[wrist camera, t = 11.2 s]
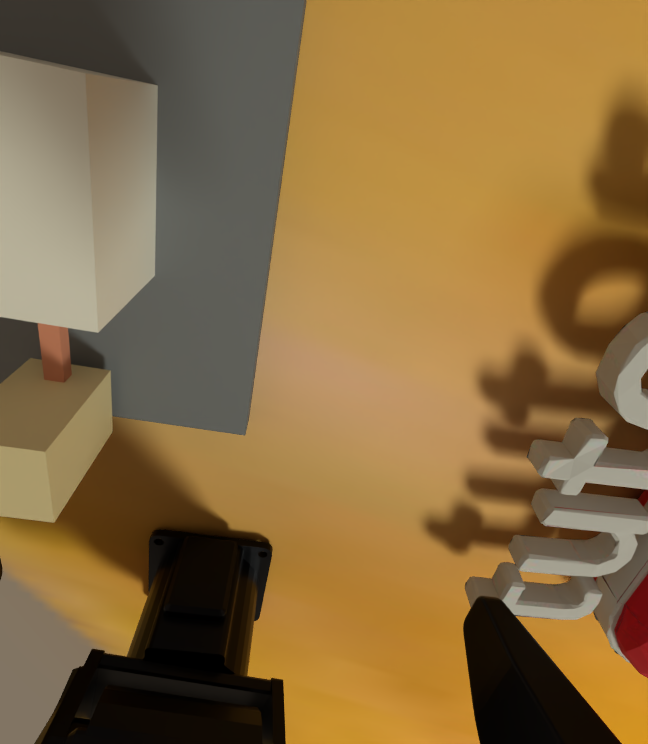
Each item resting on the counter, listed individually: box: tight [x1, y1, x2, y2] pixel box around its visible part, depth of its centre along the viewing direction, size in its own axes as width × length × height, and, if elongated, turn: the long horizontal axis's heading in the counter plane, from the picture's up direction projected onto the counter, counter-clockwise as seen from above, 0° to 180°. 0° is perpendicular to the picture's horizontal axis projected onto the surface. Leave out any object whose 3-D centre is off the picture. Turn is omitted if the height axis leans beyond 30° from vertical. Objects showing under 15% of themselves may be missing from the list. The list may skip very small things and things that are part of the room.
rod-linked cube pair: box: [0, 51, 158, 523], centre depth 14 cm, size 13×6×6 cm, turn 169°
